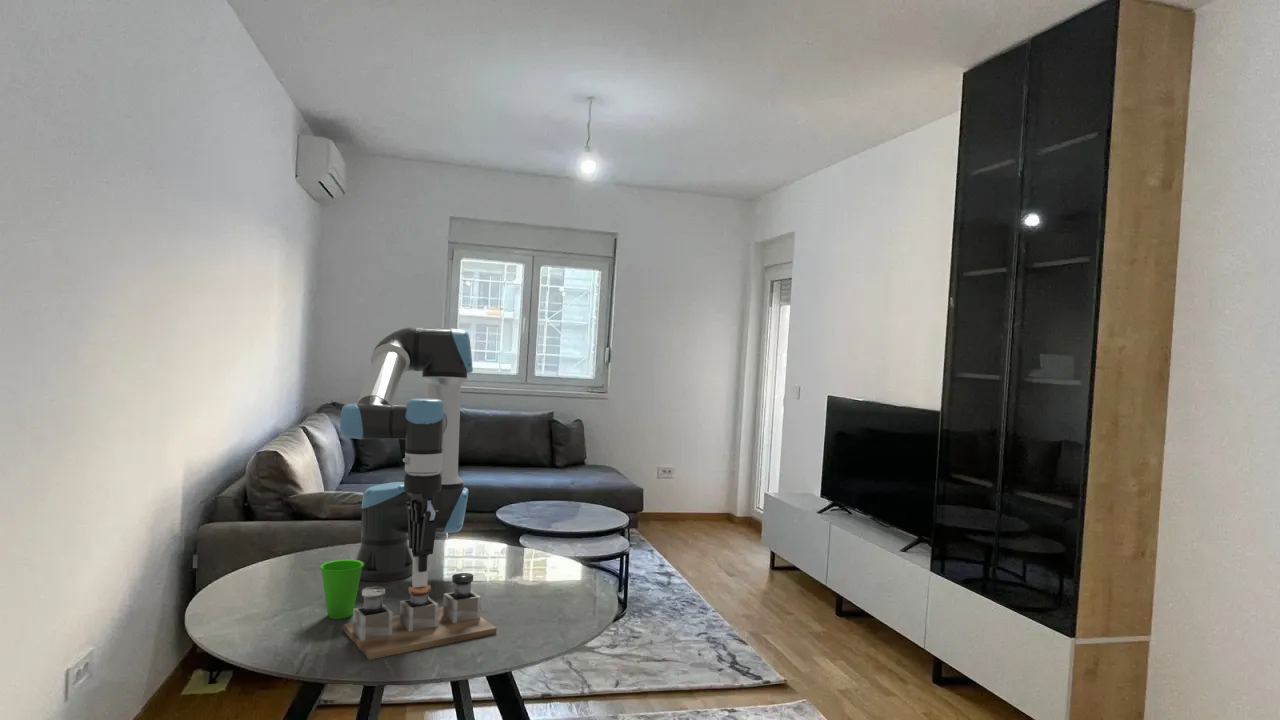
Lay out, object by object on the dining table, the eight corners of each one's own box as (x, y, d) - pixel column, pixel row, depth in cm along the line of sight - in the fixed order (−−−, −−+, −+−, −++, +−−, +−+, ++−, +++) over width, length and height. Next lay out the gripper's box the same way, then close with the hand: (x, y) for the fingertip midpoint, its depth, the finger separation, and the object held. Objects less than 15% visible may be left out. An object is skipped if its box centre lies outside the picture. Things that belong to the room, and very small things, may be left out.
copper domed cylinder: (404, 609, 158) (405, 585, 158) (425, 605, 160) (426, 582, 160) (412, 615, 154) (412, 591, 154) (433, 611, 157) (433, 587, 157)
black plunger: (448, 597, 163) (449, 574, 163) (467, 594, 166) (468, 572, 166) (456, 603, 160) (457, 580, 160) (475, 600, 162) (476, 577, 162)
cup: (371, 611, 168) (372, 562, 168) (342, 624, 159) (344, 572, 159) (338, 605, 171) (339, 557, 171) (308, 618, 162) (310, 567, 162)
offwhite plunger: (358, 613, 152) (359, 588, 152) (380, 609, 155) (381, 585, 155) (364, 619, 148) (365, 594, 148) (387, 615, 151) (388, 590, 151)
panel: (343, 630, 156) (344, 602, 156) (462, 608, 171) (462, 583, 171) (369, 659, 141) (370, 628, 141) (496, 633, 157) (497, 605, 157)
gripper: (395, 469, 160) (391, 580, 160) (416, 478, 150) (412, 597, 150) (429, 467, 165) (425, 575, 165) (452, 476, 154) (448, 591, 154)
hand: (419, 585), depth 157 cm, fingers closed
